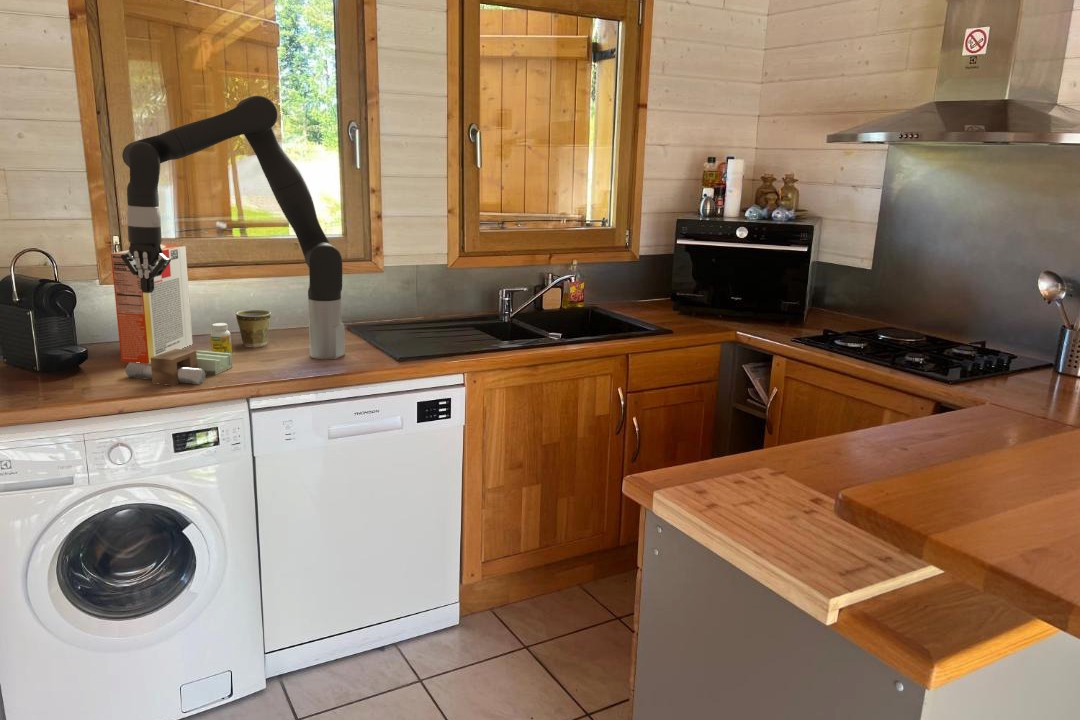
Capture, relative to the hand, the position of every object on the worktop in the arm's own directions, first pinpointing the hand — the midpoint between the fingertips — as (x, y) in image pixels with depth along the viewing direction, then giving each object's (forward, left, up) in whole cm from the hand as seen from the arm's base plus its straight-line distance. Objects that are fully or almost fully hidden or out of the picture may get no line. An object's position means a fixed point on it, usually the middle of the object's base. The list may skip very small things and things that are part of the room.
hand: (147, 292), depth 200 cm
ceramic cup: (-6, -39, -22) cm, 45 cm away
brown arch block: (-8, +2, -22) cm, 23 cm away
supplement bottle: (-6, -22, -22) cm, 32 cm away
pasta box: (+13, -20, -22) cm, 33 cm away
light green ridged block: (-10, -9, -22) cm, 25 cm away
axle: (-6, +2, -22) cm, 23 cm away
